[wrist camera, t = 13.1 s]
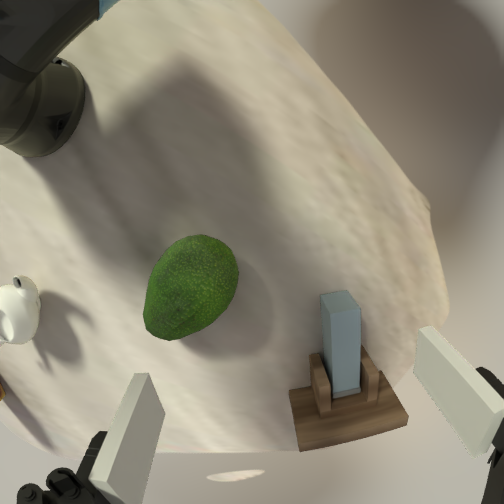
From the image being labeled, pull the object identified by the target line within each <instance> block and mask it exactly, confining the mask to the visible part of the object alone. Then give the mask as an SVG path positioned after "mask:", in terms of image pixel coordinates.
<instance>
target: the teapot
mask: <svg viewBox="0 0 504 504" xmlns="http://www.w3.org/2000/svg"><path fill="white" fill-rule="evenodd" d="M12 282H13V284H6V285H2V286H0V346H2V345H3V344H4V343H9V344H25V343H27V342H28V341H30V340H31V339H32V338H33V336H34V335H35V333H36V331H37V328H38V325H39V310H40V308H41V301H40V298H39V296H38V289H37V286H36V285H35V283H34V282H33V281H32V280H31V279H30V278H28V277H26V276H23V275H17V276H14V277H13V279H12Z"/></svg>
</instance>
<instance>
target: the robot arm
mask: <svg viewBox="0 0 504 504" xmlns="http://www.w3.org/2000/svg"><path fill="white" fill-rule="evenodd" d="M118 1H119V0H0V145H3V146H5V147H6V148H8V149H10V150H12V151H14V152H15V153H17V154H18V155H21V156H25V157H41V156H45V155H48V154H50V153H52V152H54V151H56V150H57V149H59V148H60V147H61V146H62V145H63V144H64V143H65V142H66V141H67V140H68V139H69V137H70V136H71V135H72V133H73V132H74V130H75V128H76V126H77V124H78V122H79V120H80V117H81V114H82V111H83V107H84V100H85V88H84V82H83V79H82V76H81V74H80V72H79V70H78V69H77V68H76V67H75V66H74V65H73V64H72V63H70V62H68V61H66V60H64V59H62V58H59V57H56V56H57V55H58V54H59V53H60V52H61V51H62V50H63V49H64V48H65V47H66V46H67V45H68V44H70V43H71V42H72V41H73V40H74V39H75V38H76V37H77V36H78V35H79V34H80V33H81V32H83V31H84V30H85V29H86V28H87V27H88V26H89V25H91V24H92V23H93V22H94V21H95V20H97V21H98V20H99V19H101V18H102V16H103V14H104V13H105V12H106V11H107V10H109V9H110V8H111V7H112V6H113V5H115V4H116V3H117V2H118ZM413 373H414V374H415V376H416V377H417V379H418V380H419V381H420V382H421V384H422V385H423V387H424V388H425V390H426V391H427V392H428V394H429V395H430V396H431V398H432V400H433V401H434V402H435V404H436V405H437V407H438V408H439V410H440V411H441V412H442V414H443V415H444V417H445V418H446V419H447V421H448V423H449V424H450V426H451V427H452V428H453V430H454V431H455V433H456V434H457V436H458V437H459V439H460V440H461V442H462V443H463V445H464V446H465V448H466V449H467V451H468V452H469V454H470V455H471V457H472V459H474V458H476V457H478V456H480V455H482V454H484V453H486V452H487V451H488V449H489V447H490V445H491V443H492V444H493V445H494V446H495V449H494V451H493V453H492V455H491V456H490V458H489V460H488V462H487V463H490V461H491V460H492V461H491V467H490V471H489V475H488V479H487V484H486V488H485V492H484V496H483V499H482V502H481V504H504V385H503V384H502V382H500V380H499V379H497V378H496V376H495V375H494V374H493V373H492V372H491V371H489V370H487V369H485V368H483V367H479V368H476V369H474V368H473V367H472V366H471V364H470V363H469V362H468V361H467V360H466V359H465V358H464V357H463V356H462V355H461V354H460V353H459V352H458V351H457V350H456V349H455V348H454V347H453V346H452V345H451V344H450V343H449V342H447V340H446V339H445V338H444V337H443V336H442V335H441V334H440V333H439V332H438V331H437V330H436V329H435V328H433V327H432V326H431V325H430V326H427V327H423V328H420V329H418V339H417V348H416V356H415V363H414V371H413ZM164 417H165V411H164V409H163V407H162V405H161V402H160V400H159V397H158V395H157V393H156V390H155V388H154V385H153V383H152V380H151V378H150V375H149V373H137V374H134V376H133V378H132V380H131V382H130V384H129V386H128V388H127V391H126V393H125V395H124V397H123V399H122V402H121V404H120V406H119V408H118V410H117V413H116V415H115V417H114V419H113V422H112V424H111V426H110V428H109V431H99V432H98V433H97V434H96V435H95V436H94V437H93V438H92V440H91V442H90V444H89V447H88V449H87V451H86V453H85V456H84V457H83V460H82V462H81V464H80V466H79V469H78V471H77V473H76V475H75V474H74V473H73V471H72V470H70V469H68V468H57V469H55V470H53V471H52V472H51V473H50V474H49V475H48V476H47V479H46V486H47V487H48V488H49V489H50V491H43V490H42V489H41V488H40V487H39V486H38V485H36V484H32V483H29V484H26V485H24V486H22V487H21V488H20V490H19V491H18V494H17V504H142V501H143V497H144V492H145V488H146V485H147V481H148V477H149V473H150V469H151V465H152V461H153V457H154V454H155V450H156V446H157V442H158V439H159V435H160V431H161V428H162V424H163V420H164Z"/></svg>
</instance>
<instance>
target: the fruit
mask: <svg viewBox="0 0 504 504" xmlns="http://www.w3.org/2000/svg"><path fill="white" fill-rule="evenodd" d="M238 275H239V271H238V267H237V263H236V260H235V257H234V255H233V253H232V251H231V249H230V248H229V247H228V246H226V245H225V244H224V243H223V242H221V241H219V240H218V239H215V238H212V237H209V236H206V235H194V236H188V237H185V238H183V239H181V240H179V241H176V242H175V243H174V244H173V245H172V246H171V247H169V248H168V249H167V250H166V252H165V253H164V254H163V255H162V257H161V258H160V259H159V261H158V262H157V264H156V265H155V266H154V269H153V271H152V274H151V276H150V279H149V283H148V288H147V293H146V299H145V306H144V311H143V318H144V322H145V326H146V330H147V331H149V332H150V333H151V334H152V335H153V336H155V337H158V338H160V339H164V340H168V341H171V340H177V339H181V338H183V337H185V336H187V335H190V334H192V333H195V332H197V331H200V330H201V329H203V328H205V327H206V326H208V325H210V324H211V323H213V322H214V321H215V320H216V319H217V318H218V317H219V316H220V315H221V314H222V313H223V312H224V311H225V310H226V309H227V307H228V305H229V304H230V302H231V300H232V298H233V297H234V293H235V290H236V287H237V284H238Z"/></svg>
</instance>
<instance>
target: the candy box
mask: <svg viewBox="0 0 504 504" xmlns="http://www.w3.org/2000/svg"><path fill="white" fill-rule="evenodd" d="M5 395H6V394H5V392H4V390H3V388H2V385H1V383H0V401H1V400H2V399H3V397H4V396H5Z"/></svg>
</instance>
